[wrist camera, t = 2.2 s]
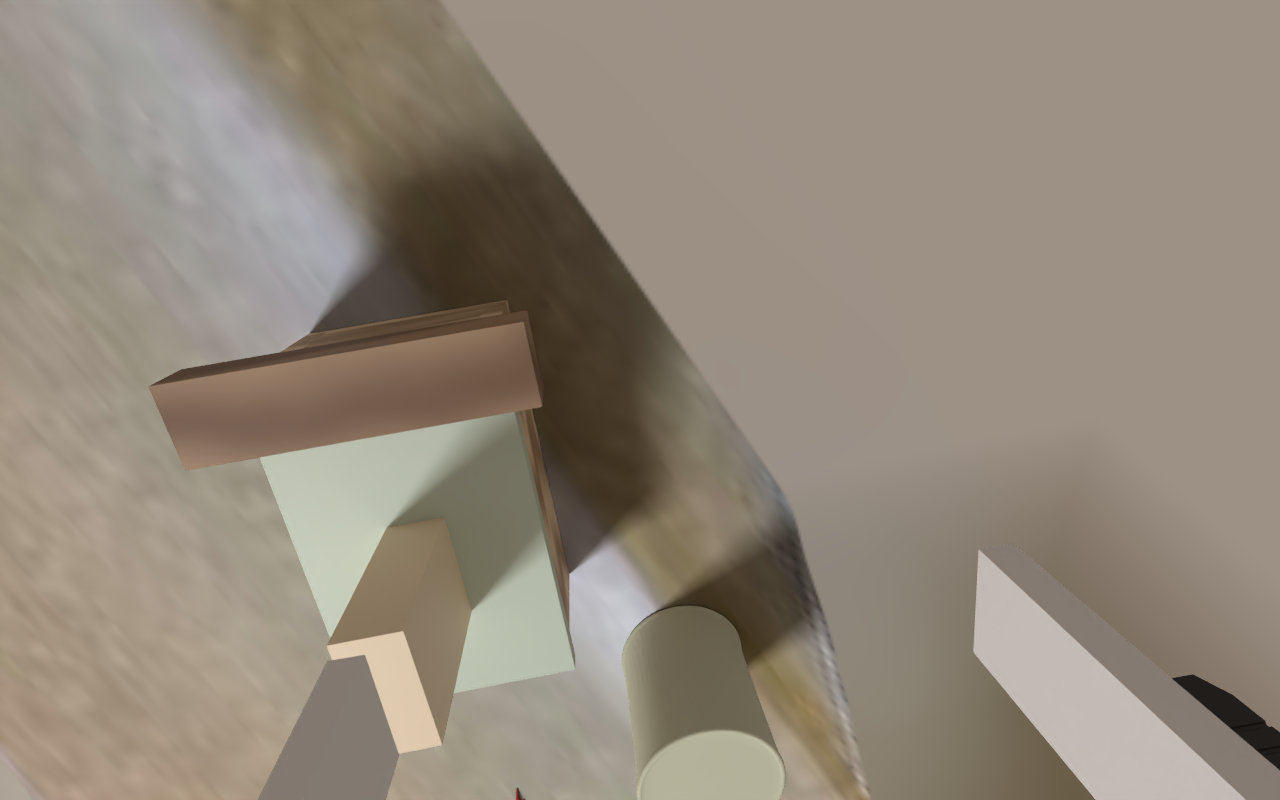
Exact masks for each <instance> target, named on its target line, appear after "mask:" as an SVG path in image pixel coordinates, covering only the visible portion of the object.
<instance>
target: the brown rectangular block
mask: <svg viewBox="0 0 1280 800" xmlns="http://www.w3.org/2000/svg"><path fill="white" fill-rule="evenodd" d="M149 389H150V391H151V393H152V396H153V398H154V400H155V402H156V405H157V407H158V409H159V412H160V414H161V416H162V418H163V421H164V423H165V425H166V428H167V430H168V432H169V434H170V437H171V439H172V441H173V444H174V446H175V448H176V450H177V453H178V455H179V457H180V460H181V462H182V464H183V466H184V469H185V471H187V470H192V469H198V468H204V467H209V466H215V465H220V464H226V463H232V462H237V461H243V460H248V459H254V458H259V457H265V456H271V455H276V454H282V453H287V452H293V451H299V450H304V449H310V448H315V447H321V446H327V445H332V444H338V443H343V442H349V441H355V440H360V439H366V438H371V437H377V436H383V435H388V434H394V433H399V432H405V431H411V430H416V429H422V428H427V427H433V426H439V425H444V424H450V423H455V422H461V421H466V420H472V419H478V418H483V417H489V416H494V415H500V414H506V413H511V412H517V411H522V410H528V409H534V408H539V407H542V405H543V396H544V386H543V381H542V377H541V372H540V368H539V363H538V358H537V354H536V349H535V344H534V340H533V335H532V331H531V326H530V321H529V317H528V312H527V310H524V311H518V312H513V313H507V314H501V315H495V316H489V317H483V318H478V319H472V320H466V321H460V322H454V323H449V324H443V325H437V326H431V327H425V328H420V329H414V330H408V331H402V332H396V333H391V334H385V335H379V336H373V337H367V338H362V339H356V340H350V341H344V342H338V343H332V344H327V345H321V346H315V347H309V348H303V349H298V350H292V351H286V352H280V353H274V354H269V355H263V356H257V357H251V358H245V359H240V360H234V361H228V362H222V363H216V364H211V365H205V366H199V367H193V368H187V369H181V370H179V371H178V372H176V373H174V374H172V375H170V376H168V377H166V378H164V379H162V380H160V381H158V382H156V383H154V384H153V385H151V386H149Z"/></svg>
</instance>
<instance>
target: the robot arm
mask: <svg viewBox="0 0 1280 800" xmlns="http://www.w3.org/2000/svg"><path fill="white" fill-rule="evenodd" d="M977 577H978V578H977V594H976V614H975V634H974V653H975V654H976V656H977V657H978V658H979V659H980V660H981V662H982V663H983V664H984V665H985V667H986V668H987V669H988V670H989V671H990V672H991V674H992V675H993V676H994V677H995V679H996V680H997V681H998V682H999V683H1000V685H1001V686H1002V687H1003V688H1004V689H1005V691H1006V692H1007V693H1008V694H1009V696H1010V697H1011V698H1012V699H1013V700H1014V701H1015V703H1016V704H1017V705H1018V706H1019V707H1020V709H1021V710H1022V711H1023V712H1024V713H1025V715H1026V716H1027V717H1028V718H1029V720H1030V721H1031V722H1032V723H1033V724H1034V726H1035V727H1036V728H1037V729H1038V731H1039V732H1040V733H1041V734H1042V735H1043V737H1044V738H1045V739H1046V740H1047V741H1048V743H1049V744H1050V745H1051V746H1052V747H1053V749H1054V750H1055V751H1056V752H1057V753H1058V755H1059V756H1060V757H1061V758H1062V759H1063V760H1064V762H1065V763H1066V764H1067V765H1068V767H1069V768H1070V769H1071V770H1072V772H1073V773H1074V774H1075V775H1076V776H1077V778H1078V779H1079V780H1080V781H1081V782H1082V783H1083V785H1084V786H1085V787H1086V788H1087V790H1088V791H1089V792H1090V793H1091V794H1092V795H1093V797H1094V798H1095V799H1096V800H1280V732H1278V731H1277V730H1276V729H1275V728H1273V727H1268V726H1267V725H1266V723H1265V720H1263V719H1262V718H1261V717H1260V716H1258V715H1257V714H1256V713H1255V712H1253V711H1252V710H1251V709H1250V708H1248V707H1247V706H1246V705H1244V704H1243V703H1242V702H1241V701H1239V700H1238V699H1237V698H1236V697H1234V696H1233V695H1232V694H1230V693H1228V692H1226V691H1224V690H1222V689H1220V688H1218V687H1216V686H1214V685H1212V684H1210V683H1208V682H1207V681H1205V680H1203V679H1201V678H1199V677H1197V676H1195V675H1187V676H1182V677H1176V678H1171V677H1169V676H1168V675H1167V674H1166V673H1165V672H1163V671H1162V670H1161V669H1160V668H1159V667H1158V666H1156V665H1155V664H1154V663H1153V662H1152V661H1151V660H1149V659H1148V658H1147V657H1146V656H1145V655H1144V654H1142V653H1141V652H1140V651H1139V650H1138V649H1136V648H1135V647H1134V646H1133V645H1132V644H1130V643H1129V642H1128V641H1127V640H1126V639H1125V638H1123V637H1122V636H1121V635H1120V634H1119V633H1118V632H1116V631H1115V630H1114V629H1113V628H1112V627H1111V626H1109V625H1108V624H1107V623H1106V622H1105V621H1104V620H1102V619H1101V618H1100V617H1099V616H1098V615H1096V614H1095V613H1094V612H1093V611H1092V610H1091V609H1089V608H1088V607H1087V606H1086V605H1085V604H1084V603H1082V602H1081V601H1080V600H1079V599H1078V598H1076V597H1075V596H1074V595H1073V594H1072V593H1071V592H1070V591H1068V590H1067V589H1066V588H1065V587H1064V586H1062V585H1061V584H1060V583H1059V582H1058V581H1056V580H1055V579H1054V578H1053V577H1052V576H1051V575H1050V574H1048V573H1047V572H1046V571H1045V570H1044V569H1042V568H1041V567H1040V566H1039V565H1038V564H1037V563H1035V562H1034V561H1033V560H1032V559H1031V558H1030V557H1028V556H1027V555H1026V554H1025V553H1024V552H1022V551H1021V550H1020V549H1019V548H1018V547H1017V546H1015V545H1014V544H1008V545H1001V546H996V547H989V548H984V549H979V556H978V576H977ZM398 757H399V753H398V750H397V747H396V744H395V741H394V738H393V735H392V733H391V730H390V727H389V724H388V721H387V718H386V715H385V712H384V709H383V706H382V703H381V700H380V697H379V695H378V692H377V689H376V686H375V683H374V680H373V677H372V674H371V671H370V668H369V665H368V662H367V659H366V656H365V655H360V656H354V657H348V658H342V659H337V660H331V661H327V663H326V665H325V667H324V669H323V671H322V673H321V675H320V677H319V679H318V681H317V683H316V685H315V687H314V689H313V691H312V693H311V695H310V697H309V699H308V701H307V703H306V705H305V707H304V709H303V711H302V713H301V715H300V717H299V719H298V721H297V723H296V725H295V727H294V729H293V731H292V733H291V735H290V737H289V739H288V741H287V743H286V745H285V747H284V749H283V751H282V753H281V755H280V757H279V759H278V760H277V762H276V764H275V766H274V768H273V770H272V772H271V774H270V776H269V778H268V780H267V782H266V784H265V786H264V788H263V790H262V792H261V794H260V796H259V798H258V800H386V797H387V793H388V790H389V787H390V783H391V780H392V777H393V773H394V770H395V767H396V763H397V760H398Z"/></svg>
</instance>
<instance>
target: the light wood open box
mask: <svg viewBox="0 0 1280 800" xmlns="http://www.w3.org/2000/svg"><path fill="white" fill-rule="evenodd" d="M507 313H510V309H509V305H508V300H504V301H498V302H492V303H486V304H480V305H474V306H469V307H463V308H457V309H451V310H445V311H439V312H434V313H428V314H422V315H416V316H410V317H404V318H399V319H393V320H387V321H381V322H375V323H369V324H363V325H358V326H352V327H346V328H340V329H334V330H328V331H323V332H317V333H311V334H308V335H307V336H305V337H303V338H302V339H300V340H299V341H297V342H296V343H294V344H292V345H291V346H289V347H288V348H286V349H285V350H283V351H282V352H286V351H292V350H298V349H303V348H309V347H315V346H321V345H327V344H332V343H338V342H344V341H350V340H356V339H362V338H367V337H373V336H379V335H385V334H391V333H396V332H402V331H408V330H414V329H420V328H425V327H431V326H437V325H443V324H449V323H454V322H460V321H466V320H472V319H478V318H483V317H489V316H495V315H501V314H507ZM518 412H519V417H520V421H521V425H522V430H523V434H524V438H525V442H526V447H527V451H528V455H529V460H530V464H531V468H532V472H533V477H534V481H535V485H536V490H537V494H538V498H539V502H540V507H541V511H542V515H543V520H544V524H545V528H546V532H547V537H548V541H549V545H550V549H551V554H552V558H553V562H554V567H555V571H556V575H557V579H558V584H559V588H560V592H561V597H562V601H563V605H564V609H565V614H566V618H567V622H568V627H569V571H568V566H567V562H566V557H565V553H564V549H563V544H562V540H561V535H560V531H559V526H558V522H557V518H556V513H555V509H554V504H553V500H552V495H551V491H550V486H549V482H548V478H547V473H546V469H545V464H544V460H543V455H542V451H541V447H540V442H539V438H538V433H537V429H536V424H535V420H534V415H533V411H532V409H528V410H522V411H518Z"/></svg>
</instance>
